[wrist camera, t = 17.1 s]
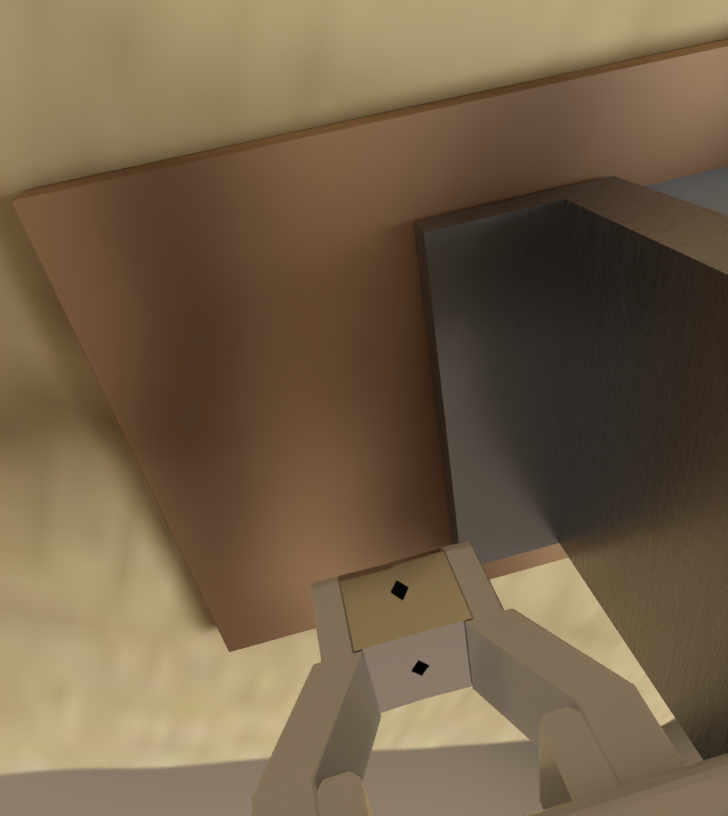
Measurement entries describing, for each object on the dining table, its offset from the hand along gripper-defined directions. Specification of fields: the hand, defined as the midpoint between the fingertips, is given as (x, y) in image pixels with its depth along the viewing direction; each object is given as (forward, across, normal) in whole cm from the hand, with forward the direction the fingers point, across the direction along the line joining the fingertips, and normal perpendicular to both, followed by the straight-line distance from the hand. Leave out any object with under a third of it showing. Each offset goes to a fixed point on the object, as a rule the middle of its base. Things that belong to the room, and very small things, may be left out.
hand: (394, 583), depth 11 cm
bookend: (+5, -5, 0) cm, 7 cm away
